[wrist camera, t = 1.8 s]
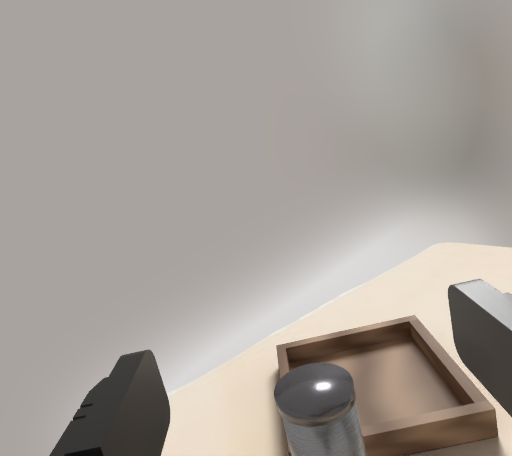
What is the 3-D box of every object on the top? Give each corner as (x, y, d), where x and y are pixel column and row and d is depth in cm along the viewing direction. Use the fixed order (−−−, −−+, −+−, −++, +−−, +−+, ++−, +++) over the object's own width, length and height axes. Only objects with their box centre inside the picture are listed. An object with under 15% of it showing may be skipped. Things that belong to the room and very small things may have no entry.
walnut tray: (417, 334, 48) (414, 315, 47) (498, 436, 32) (495, 408, 31) (281, 364, 48) (276, 345, 48) (295, 477, 33) (288, 452, 32)
